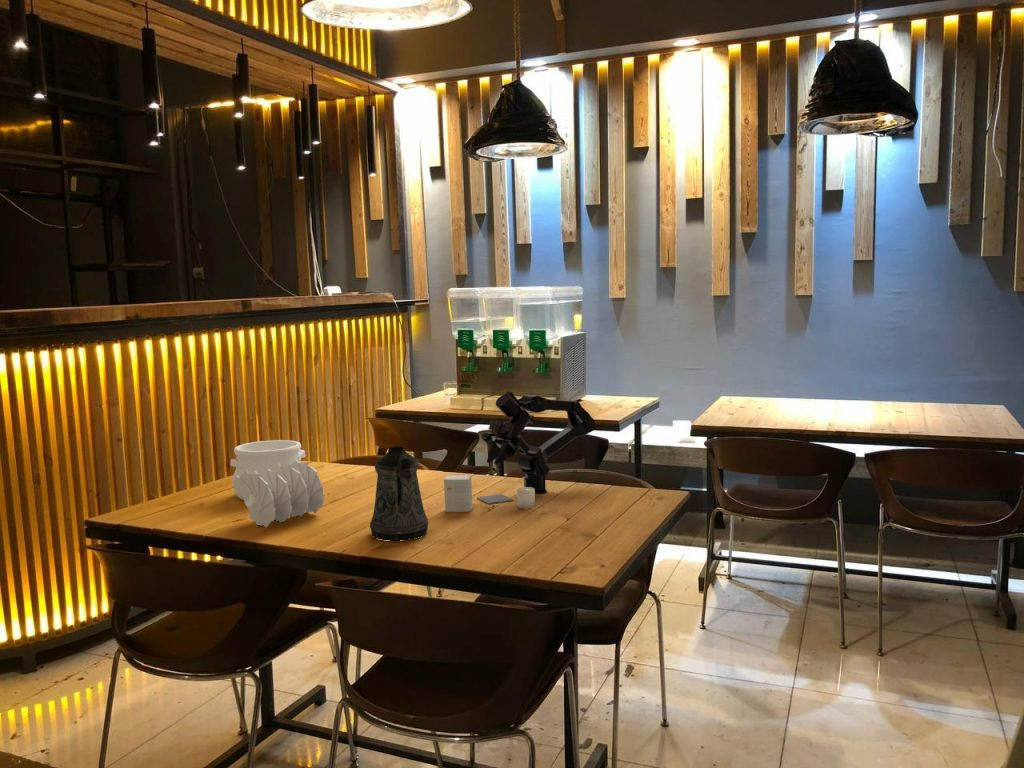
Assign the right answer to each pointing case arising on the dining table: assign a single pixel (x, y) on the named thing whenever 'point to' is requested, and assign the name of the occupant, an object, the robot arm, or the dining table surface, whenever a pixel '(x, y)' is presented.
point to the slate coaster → (495, 499)
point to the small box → (458, 493)
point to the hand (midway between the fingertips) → (491, 463)
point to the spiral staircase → (280, 492)
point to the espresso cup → (526, 497)
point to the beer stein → (398, 498)
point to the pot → (265, 456)
